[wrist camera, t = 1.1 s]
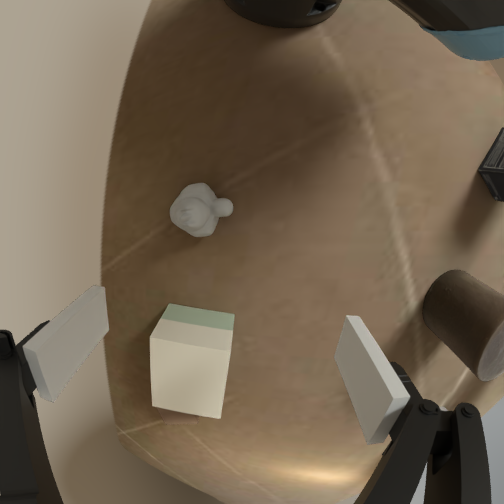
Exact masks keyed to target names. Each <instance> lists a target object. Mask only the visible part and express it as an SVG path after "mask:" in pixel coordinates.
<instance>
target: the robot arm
mask: <svg viewBox="0 0 504 504" xmlns="http://www.w3.org/2000/svg"><path fill="white" fill-rule="evenodd" d="M224 1H225V2H226V3H227V5H228V6H229V7H230V8H231V9H233V10H234V11H235V12H236V13H238V14H239V15H241V16H243V17H245V18H247V19H249V20H251V21H254V22H257V23H260V24H263V25H268V26H273V27H282V28H298V27H305V26H310V25H314V24H317V23H319V22H322V21H324V20H326V19H327V18H329V17H330V16H331V15H332V14H333V13H334V12H335V11H336V10H337V8H338V6H339V5H340V3H341V1H342V0H224ZM389 1H390V2H392V3H393V4H394V5H396V6H397V7H398V8H400V9H401V10H402V11H404V12H405V13H406V14H407V15H409V16H410V17H411V18H412V19H414V20H415V21H416V22H417V23H418V24H419V26H420V27H421V28H422V29H423V30H424V31H426V32H428V33H430V34H432V35H433V36H434V37H436V38H437V39H438V40H439V41H440V42H442V43H443V44H444V45H445V46H446V47H447V48H448V49H449V50H451V51H452V52H453V53H455V54H456V55H458V56H460V57H462V58H466V59H470V60H477V61H487V60H494V59H499V58H503V57H504V0H389ZM108 331H109V324H108V316H107V306H106V295H105V287H101V286H96V285H93V286H92V287H91V288H89V289H88V290H87V291H85V292H84V293H83V294H82V295H81V296H79V297H78V298H77V299H76V300H75V301H73V302H72V303H71V304H70V305H69V306H68V307H66V308H65V309H64V310H63V311H62V312H60V313H59V314H58V315H57V316H56V317H55V318H54V319H52V320H51V321H49V320H48V321H46V322H44V323H42V324H40V325H39V326H38V327H36V328H35V329H34V331H32V332H31V333H30V334H29V335H27V336H26V337H25V338H24V339H23V340H22V341H21V342H20V343H18V344H17V345H16V346H15V343H14V339H13V336H12V333H11V332H10V331H7V330H0V494H1V495H0V504H63V501H62V498H61V496H60V493H59V490H58V488H57V485H56V482H55V479H54V477H53V473H52V470H51V466H50V463H49V460H48V456H47V453H46V449H45V445H44V441H43V437H42V433H41V429H40V423H39V418H38V413H37V408H36V402H35V397H34V395H33V391H34V390H35V389H36V388H37V390H38V392H39V395H40V397H42V398H44V399H46V400H48V401H51V402H54V401H55V400H56V398H57V397H58V396H59V394H60V393H61V391H62V390H63V389H64V388H65V386H66V385H67V383H68V382H69V381H70V379H71V378H72V377H73V375H74V374H75V373H76V372H77V370H78V369H79V368H80V366H81V365H82V364H83V362H84V361H85V360H86V359H87V357H88V356H89V355H90V353H91V352H92V351H93V349H94V348H95V347H96V346H97V345H98V343H99V342H100V341H101V339H102V338H103V337H104V336H105V335H106V333H107V332H108ZM334 358H335V361H336V363H337V366H338V368H339V371H340V373H341V376H342V378H343V381H344V383H345V386H346V389H347V391H348V394H349V396H350V399H351V402H352V404H353V407H354V410H355V412H356V415H357V418H358V420H359V423H360V426H361V428H362V431H363V434H364V437H365V439H366V442H367V445H369V444H376V443H383V442H384V440H385V439H386V437H387V436H388V434H389V435H390V437H391V439H392V441H391V442H390V444H389V445H388V447H387V448H386V449H385V451H384V452H383V454H382V455H383V457H382V458H381V460H380V462H379V464H378V466H377V467H376V469H375V471H374V472H373V474H372V476H371V478H370V479H369V481H368V482H367V484H366V486H365V487H364V489H363V490H362V492H361V494H360V495H359V497H358V498H357V500H356V501H355V503H354V504H410V502H411V500H412V498H413V495H414V493H415V491H416V488H417V486H418V484H419V481H420V479H421V476H422V473H423V471H424V468H425V465H426V463H427V474H426V486H425V495H424V504H491V485H490V475H489V464H488V457H487V450H486V443H485V437H484V432H483V427H482V421H481V417H480V413H479V411H478V409H477V408H476V407H475V406H474V405H472V404H469V403H460V404H458V405H457V407H456V408H455V410H454V411H442V410H441V409H440V407H439V406H438V405H437V404H436V403H435V402H433V401H431V400H427V399H423V398H422V397H421V395H420V394H419V392H418V390H417V389H416V387H415V386H414V384H413V383H412V382H411V380H410V378H409V377H408V376H407V374H406V372H405V371H404V369H403V368H402V367H401V366H400V365H398V364H397V363H396V362H389V361H388V360H387V358H386V357H385V355H384V353H383V352H382V350H381V349H380V347H379V346H378V344H377V343H376V341H375V340H374V338H373V337H372V335H371V333H370V332H369V330H368V329H367V327H366V326H365V324H364V323H363V321H362V320H361V318H360V317H359V316H349V315H346V318H345V321H344V325H343V328H342V332H341V335H340V339H339V342H338V346H337V349H336V352H335V356H334Z"/></svg>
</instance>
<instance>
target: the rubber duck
mask: <svg viewBox="0 0 504 504" xmlns="http://www.w3.org/2000/svg"><path fill="white" fill-rule="evenodd" d="M232 211H233V204H232V202H231V201H230V200H229V199H226V198H219V199H218V198H217V197H216V195H215V193H214V192H213V191H212V190H211V189H210V187H209V186H208V185H207V184H205V183H196V184H190V185H188V186H187V187H185V188H184V189H183V190H182V191H181V193H180V195H179V196H178V197H177V198H176V200H175V201H174V203H173V204H172V206H171V208H170V218H171V220H172V222H173V223H174V224H175V225H176V226H178V227H179V228H181V229H183V230H185V231H186V232H187V233H189V234H190V235H192V236H195V237H204V236H210V235H211V234H212V233H213V232H214V230H215V227H216V225H217V223H218V220H219V217H226V216H229V215H231V213H232Z"/></svg>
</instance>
